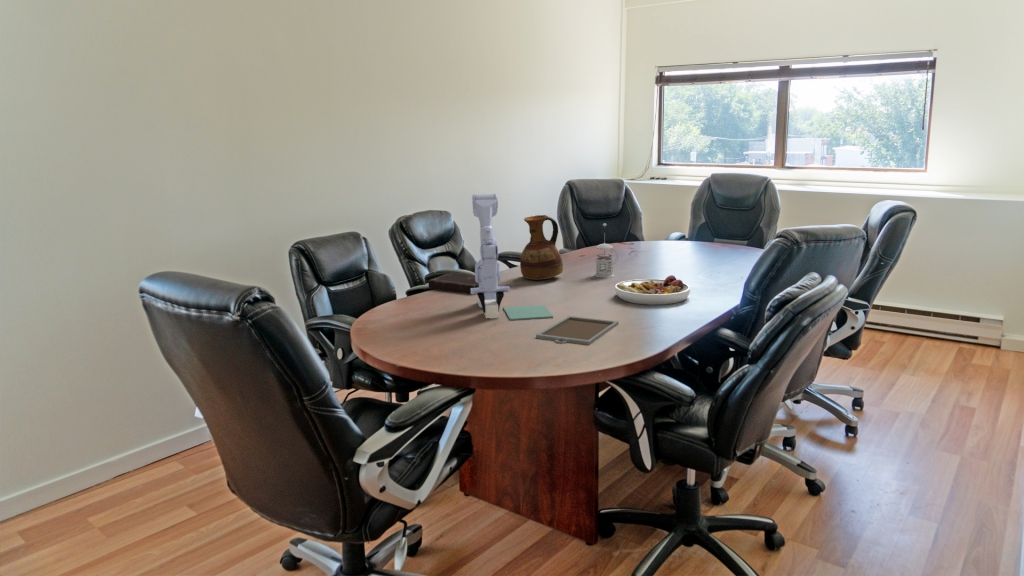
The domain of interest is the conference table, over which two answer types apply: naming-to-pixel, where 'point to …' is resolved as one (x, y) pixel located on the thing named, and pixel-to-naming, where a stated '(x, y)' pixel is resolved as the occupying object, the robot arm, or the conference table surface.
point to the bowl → (653, 291)
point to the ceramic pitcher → (540, 251)
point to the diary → (454, 283)
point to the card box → (491, 309)
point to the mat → (527, 312)
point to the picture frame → (577, 330)
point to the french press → (604, 261)
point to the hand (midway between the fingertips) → (490, 311)
